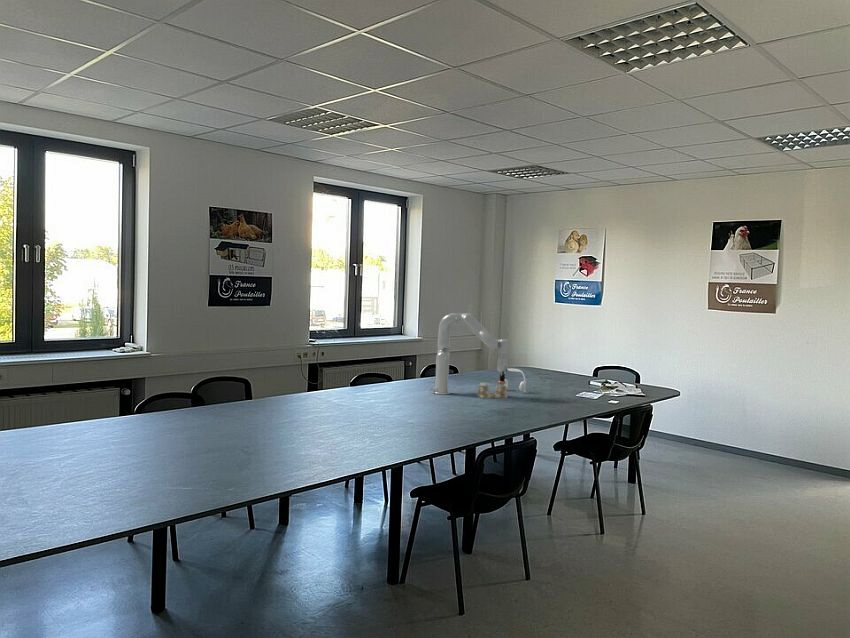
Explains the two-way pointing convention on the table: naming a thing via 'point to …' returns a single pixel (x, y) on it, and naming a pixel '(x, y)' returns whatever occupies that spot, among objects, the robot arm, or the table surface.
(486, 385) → the plug
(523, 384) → the headset
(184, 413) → the table surface
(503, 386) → the terracotta plug
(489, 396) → the block
